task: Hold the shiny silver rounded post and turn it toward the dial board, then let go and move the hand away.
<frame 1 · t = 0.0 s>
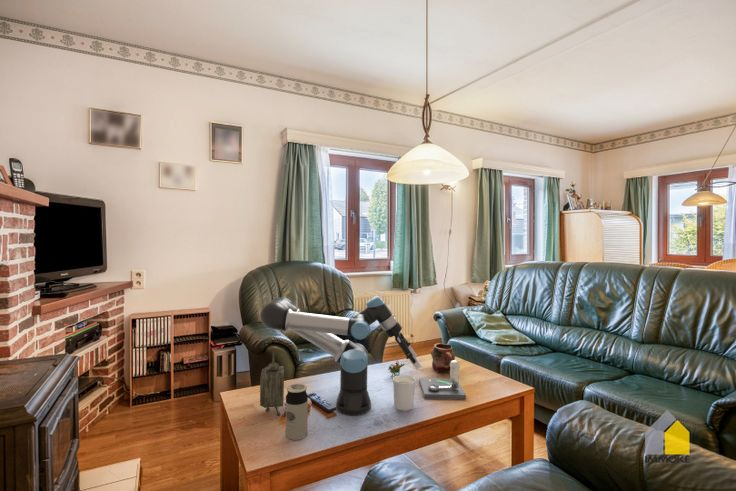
hand: (417, 362, 174), 15 cm above the table, tool tilted 35°, fingers open, 13 cm apart
candle holder: (403, 406, 163), on the table
grey upright ornament: (272, 411, 157), on the table
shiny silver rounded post: (444, 374, 176), point 9 cm above the table, hinge at 0.0°
dial board: (441, 390, 181), on the table
figurine: (396, 376, 198), on the table
travel mug: (296, 435, 139), on the table
decorative planter: (443, 371, 206), on the table
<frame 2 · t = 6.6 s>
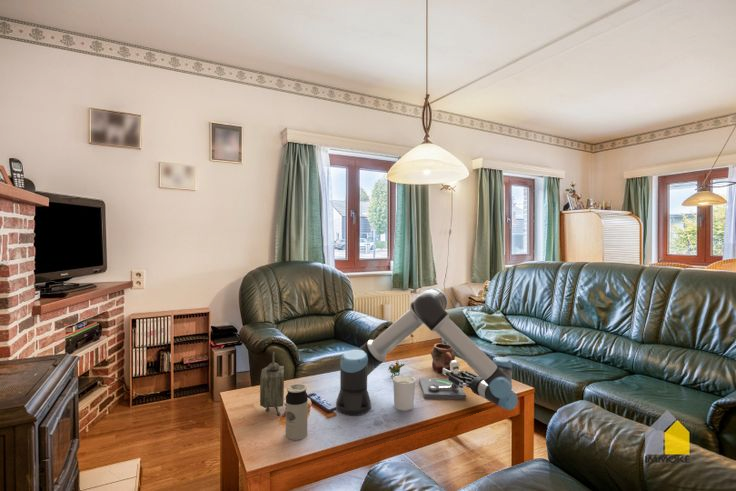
hand: (447, 370, 181), 9 cm above the table, tool horizontal, fingers closed on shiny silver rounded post, 4 cm apart
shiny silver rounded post: (444, 374, 176), point 9 cm above the table, hinge at 0.0°, touching gripper
everything else where it was.
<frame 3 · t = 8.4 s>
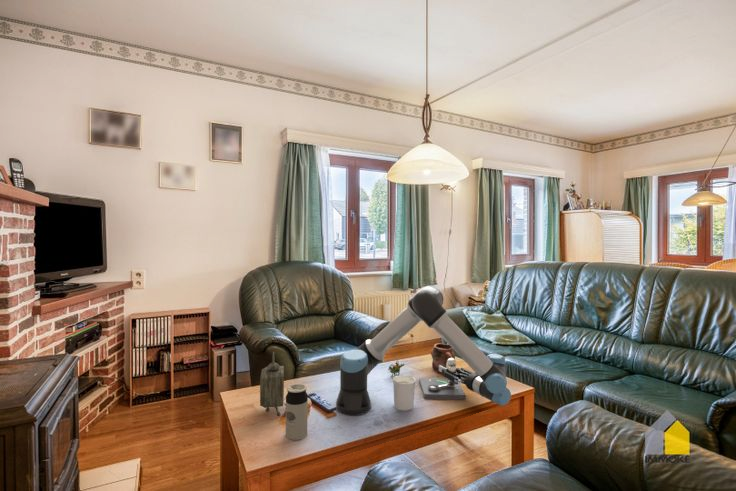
hand: (443, 367, 185), 9 cm above the table, tool horizontal, fingers closed on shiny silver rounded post, 4 cm apart
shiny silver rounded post: (442, 373, 178), point 9 cm above the table, hinge at 19.3°, touching gripper
everything else where it was.
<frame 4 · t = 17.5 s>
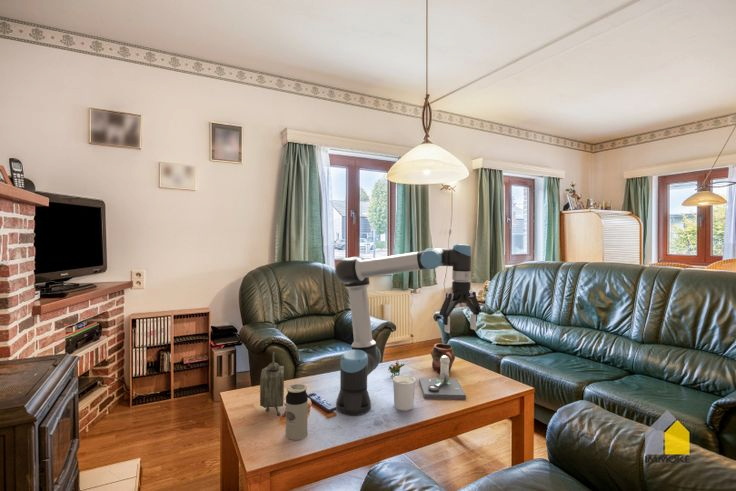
hand: (460, 330, 158), 35 cm above the table, tool pointing down, fingers open, 13 cm apart
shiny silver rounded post: (439, 372, 179), point 9 cm above the table, hinge at 44.2°
everything else where it was.
at the end: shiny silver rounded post at +44° (first picture: +0°); the gripper is holding nothing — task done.
